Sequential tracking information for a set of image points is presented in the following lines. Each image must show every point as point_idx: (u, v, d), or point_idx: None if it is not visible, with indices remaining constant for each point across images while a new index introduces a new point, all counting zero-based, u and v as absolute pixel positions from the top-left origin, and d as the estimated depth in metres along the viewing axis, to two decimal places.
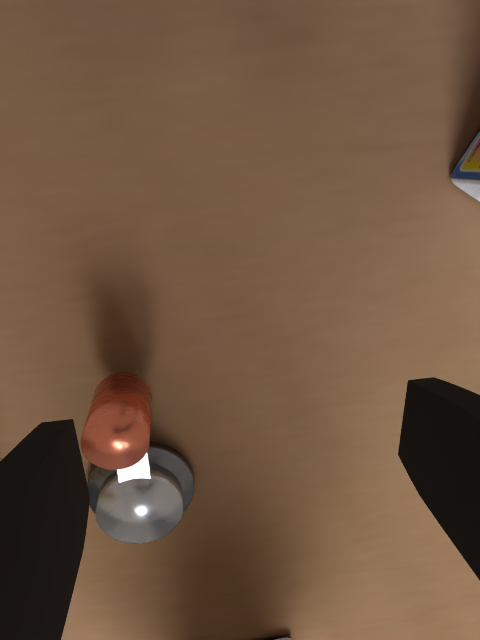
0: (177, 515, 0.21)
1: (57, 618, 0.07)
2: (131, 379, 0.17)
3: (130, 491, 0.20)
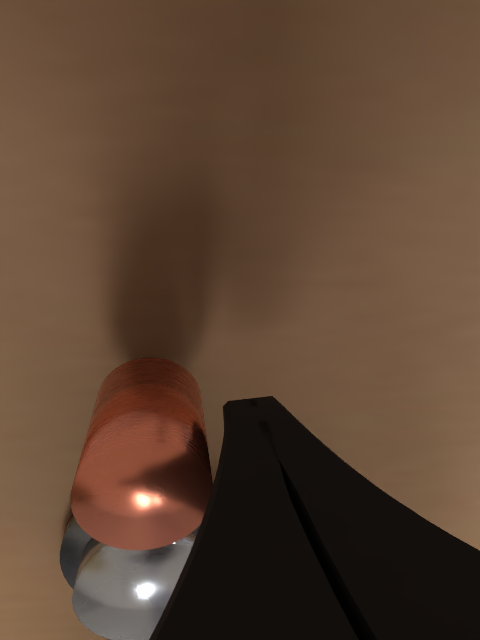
0: None
1: None
2: (173, 370, 0.09)
3: (137, 562, 0.11)
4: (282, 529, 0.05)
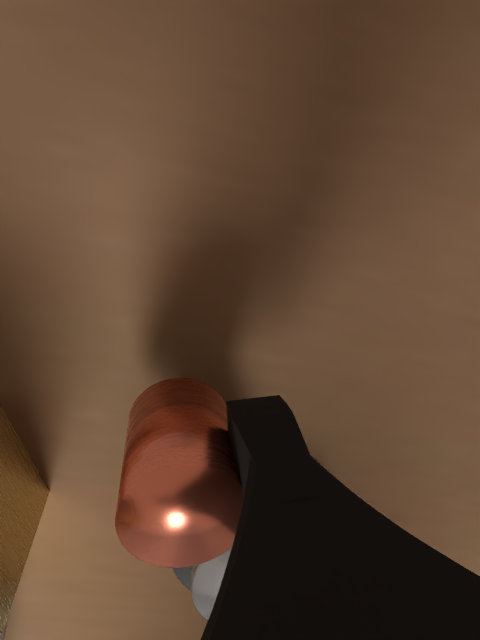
0: None
1: None
2: (181, 386, 0.10)
3: None
4: (322, 523, 0.05)
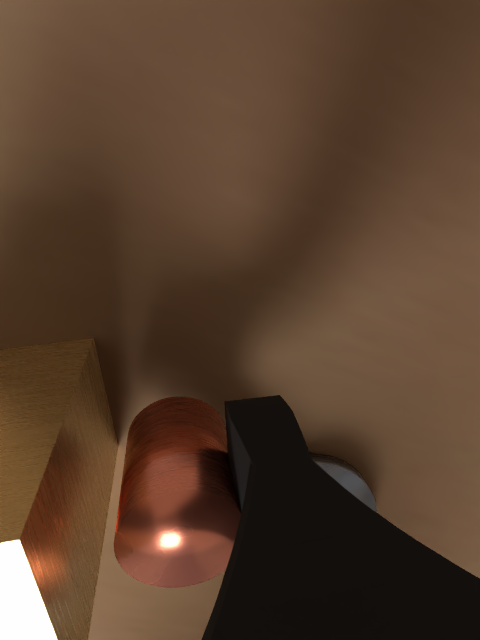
0: None
1: None
2: (163, 408, 0.10)
3: None
4: (323, 522, 0.05)
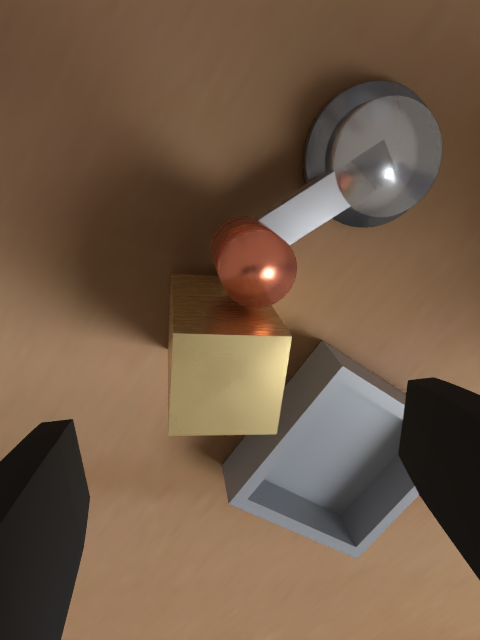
0: (384, 104, 0.14)
1: (57, 618, 0.07)
2: (211, 256, 0.15)
3: (360, 186, 0.15)
4: None
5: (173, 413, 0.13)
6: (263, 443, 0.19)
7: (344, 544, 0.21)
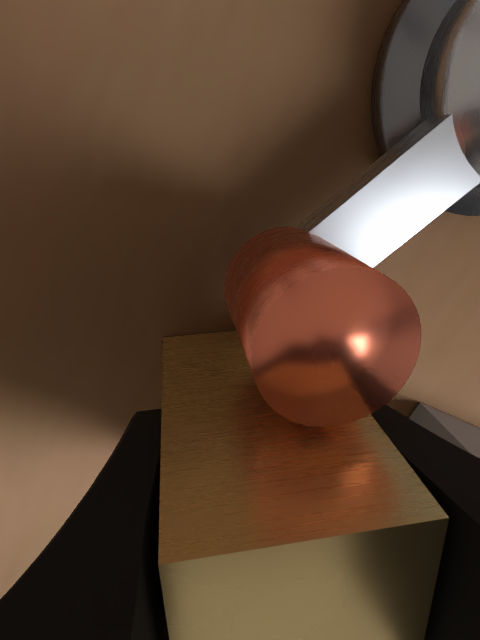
0: None
1: None
2: None
3: None
4: (120, 554, 0.05)
5: None
6: None
7: None
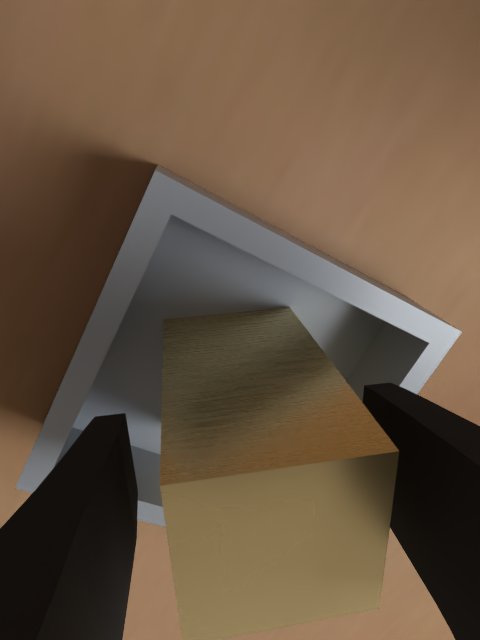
0: None
1: (121, 607, 0.07)
2: None
3: None
4: (42, 567, 0.05)
5: (186, 612, 0.07)
6: None
7: None
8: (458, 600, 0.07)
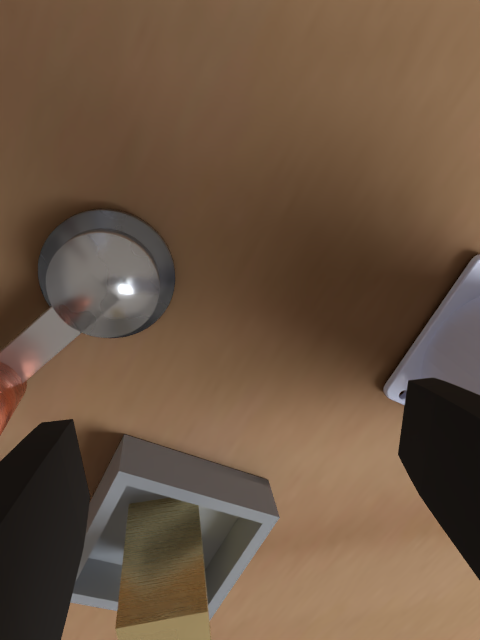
0: (79, 243, 0.15)
1: (57, 618, 0.07)
2: None
3: (84, 315, 0.16)
4: None
5: None
6: None
7: None
8: None
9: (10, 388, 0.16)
